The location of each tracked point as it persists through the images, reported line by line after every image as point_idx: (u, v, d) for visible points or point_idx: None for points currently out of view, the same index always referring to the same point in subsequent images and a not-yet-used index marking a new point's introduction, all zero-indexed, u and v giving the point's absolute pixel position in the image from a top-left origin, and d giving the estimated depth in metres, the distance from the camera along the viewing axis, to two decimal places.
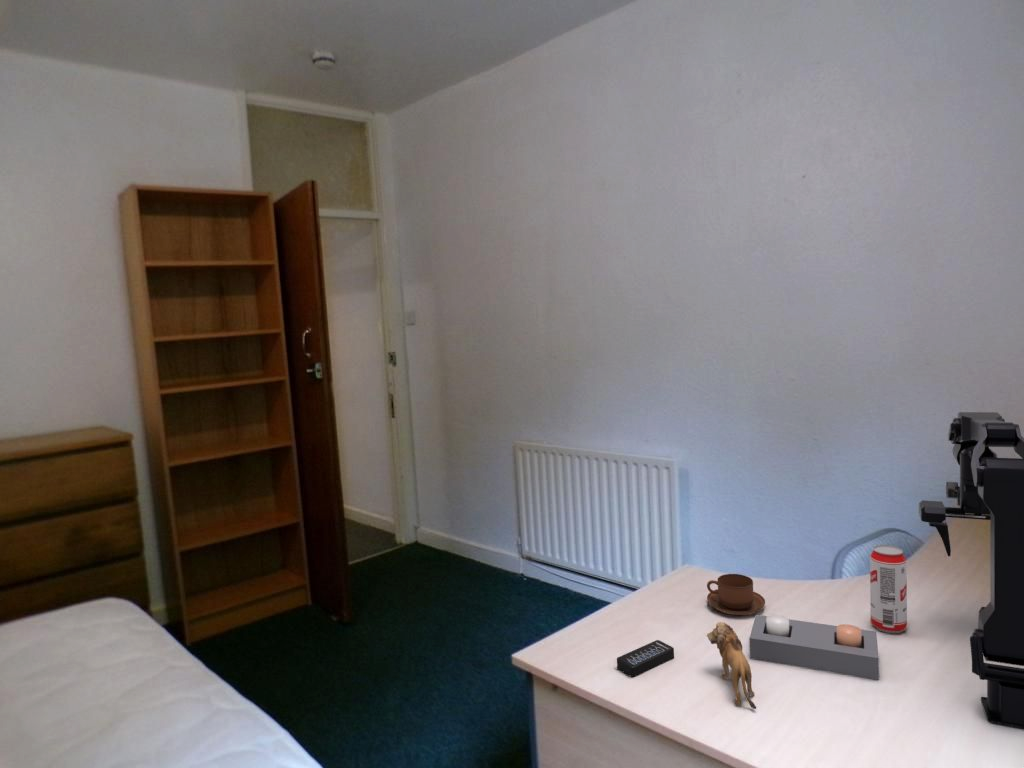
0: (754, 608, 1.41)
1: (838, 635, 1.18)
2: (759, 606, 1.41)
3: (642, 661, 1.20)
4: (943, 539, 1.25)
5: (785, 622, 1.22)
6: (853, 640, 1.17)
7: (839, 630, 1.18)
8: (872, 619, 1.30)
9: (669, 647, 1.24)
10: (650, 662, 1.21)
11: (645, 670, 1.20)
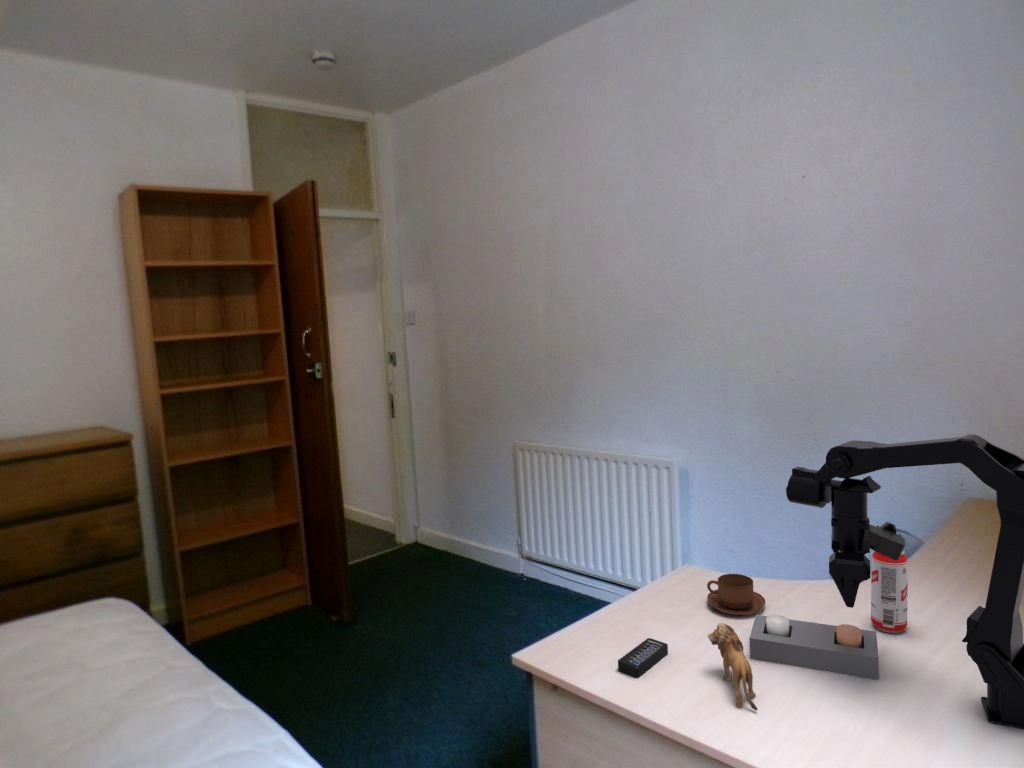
0: (754, 608, 1.41)
1: (838, 635, 1.18)
2: (759, 606, 1.41)
3: (644, 660, 1.20)
4: None
5: (785, 622, 1.22)
6: (853, 640, 1.17)
7: (839, 630, 1.18)
8: (872, 619, 1.30)
9: (663, 643, 1.26)
10: (650, 660, 1.21)
11: (647, 669, 1.20)
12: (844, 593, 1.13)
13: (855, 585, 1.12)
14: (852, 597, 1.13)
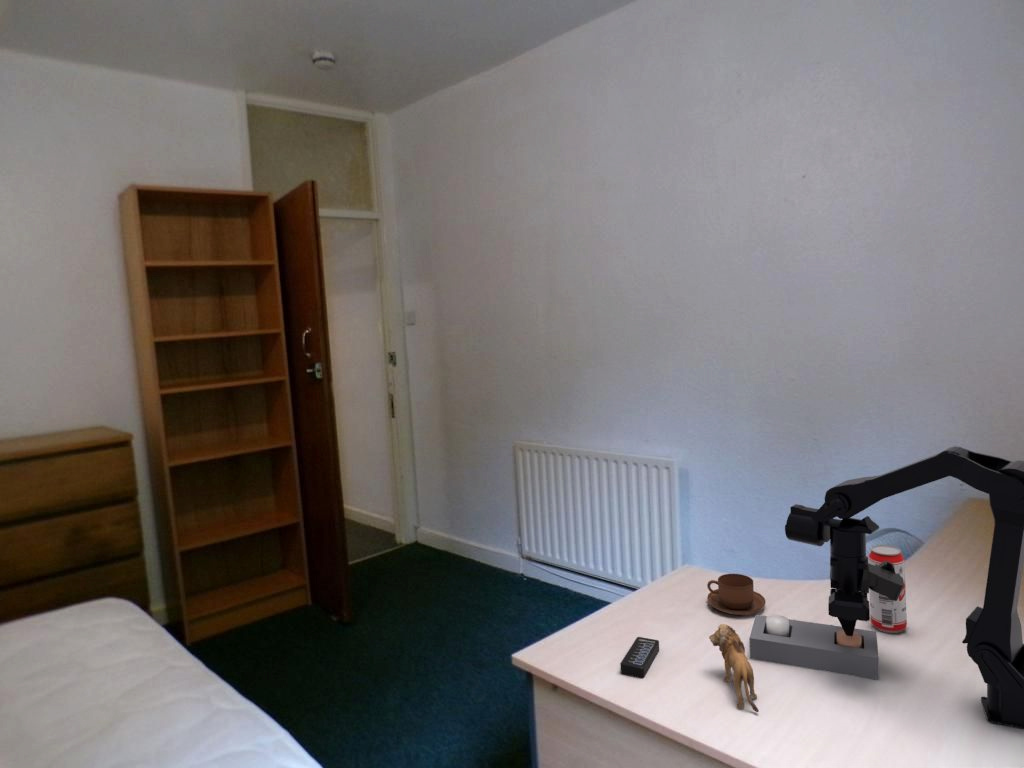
0: (754, 608, 1.41)
1: (838, 640, 1.19)
2: (759, 606, 1.41)
3: (645, 660, 1.21)
4: None
5: (785, 622, 1.22)
6: (853, 645, 1.17)
7: (839, 635, 1.19)
8: (872, 619, 1.30)
9: (654, 640, 1.27)
10: (650, 658, 1.22)
11: (648, 668, 1.21)
12: (844, 623, 1.18)
13: None
14: (851, 626, 1.17)
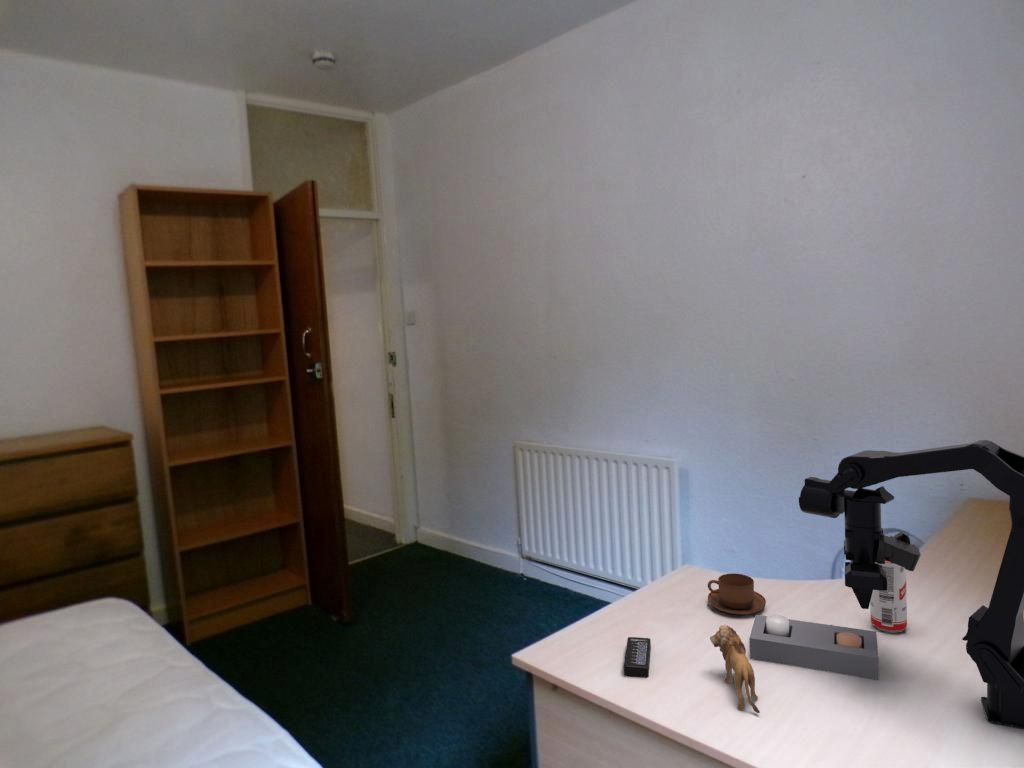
0: (755, 608, 1.41)
1: (838, 643, 1.19)
2: (760, 606, 1.41)
3: (646, 659, 1.21)
4: None
5: (785, 622, 1.22)
6: None
7: (839, 638, 1.19)
8: (872, 618, 1.30)
9: (646, 639, 1.28)
10: (649, 657, 1.22)
11: None
12: (859, 595, 1.16)
13: None
14: (867, 598, 1.16)
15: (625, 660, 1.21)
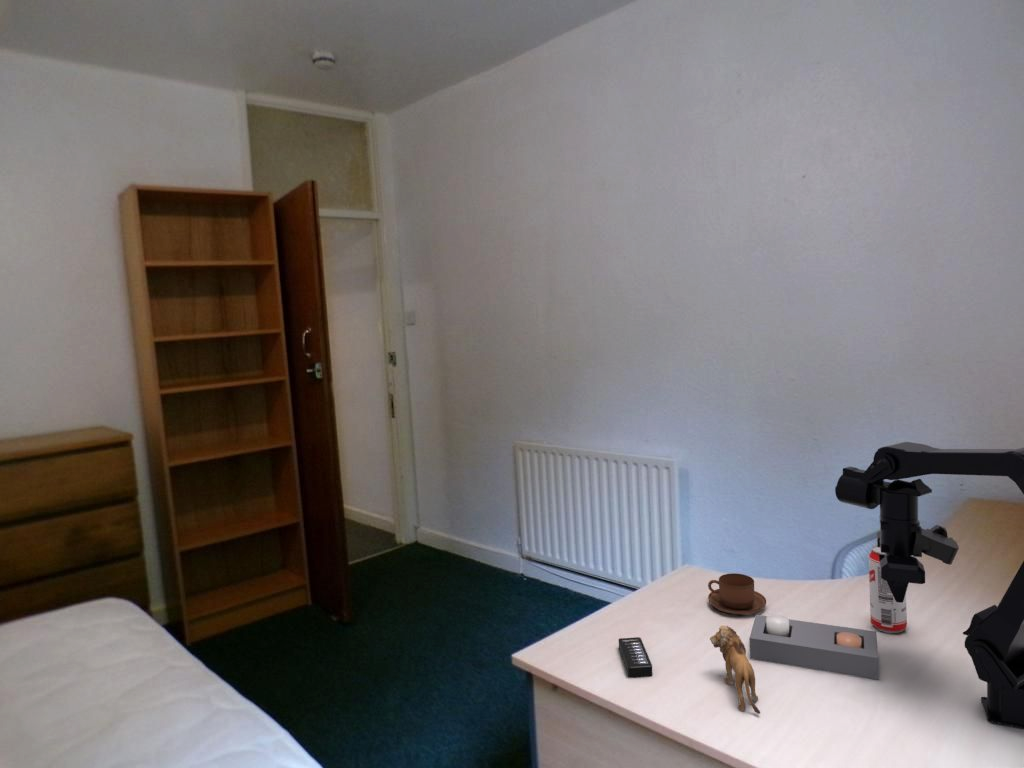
0: (755, 608, 1.41)
1: (838, 643, 1.19)
2: (760, 606, 1.41)
3: (646, 657, 1.21)
4: None
5: (785, 622, 1.22)
6: None
7: (839, 638, 1.19)
8: (871, 618, 1.30)
9: (637, 638, 1.29)
10: (647, 656, 1.23)
11: None
12: (894, 589, 1.14)
13: None
14: (902, 592, 1.14)
15: (627, 662, 1.20)
